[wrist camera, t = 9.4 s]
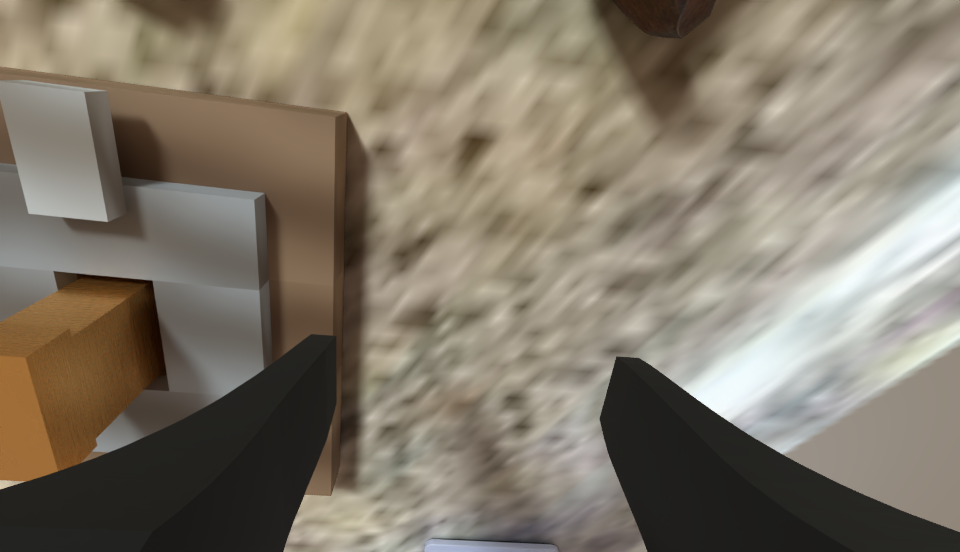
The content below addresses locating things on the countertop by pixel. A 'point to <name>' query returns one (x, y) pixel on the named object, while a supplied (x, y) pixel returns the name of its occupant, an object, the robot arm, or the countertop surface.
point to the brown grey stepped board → (179, 227)
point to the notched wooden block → (73, 371)
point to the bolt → (666, 15)
